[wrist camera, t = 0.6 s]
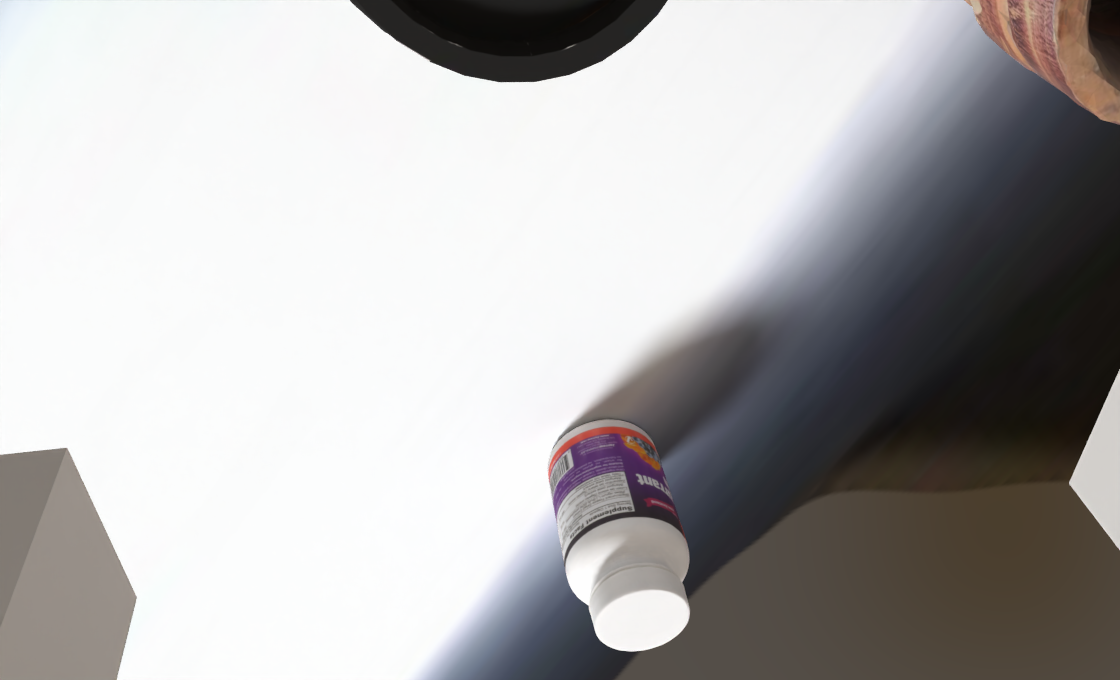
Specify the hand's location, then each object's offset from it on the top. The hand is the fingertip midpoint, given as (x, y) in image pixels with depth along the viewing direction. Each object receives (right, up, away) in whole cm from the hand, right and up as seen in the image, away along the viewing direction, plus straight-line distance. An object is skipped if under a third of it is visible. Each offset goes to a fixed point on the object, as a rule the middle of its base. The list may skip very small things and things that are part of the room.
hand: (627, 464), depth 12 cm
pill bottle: (+1, -4, +35) cm, 35 cm away
